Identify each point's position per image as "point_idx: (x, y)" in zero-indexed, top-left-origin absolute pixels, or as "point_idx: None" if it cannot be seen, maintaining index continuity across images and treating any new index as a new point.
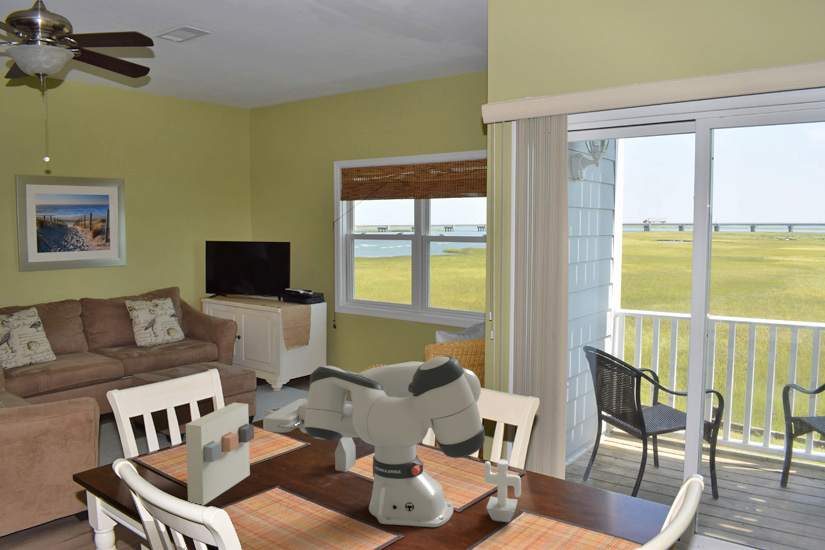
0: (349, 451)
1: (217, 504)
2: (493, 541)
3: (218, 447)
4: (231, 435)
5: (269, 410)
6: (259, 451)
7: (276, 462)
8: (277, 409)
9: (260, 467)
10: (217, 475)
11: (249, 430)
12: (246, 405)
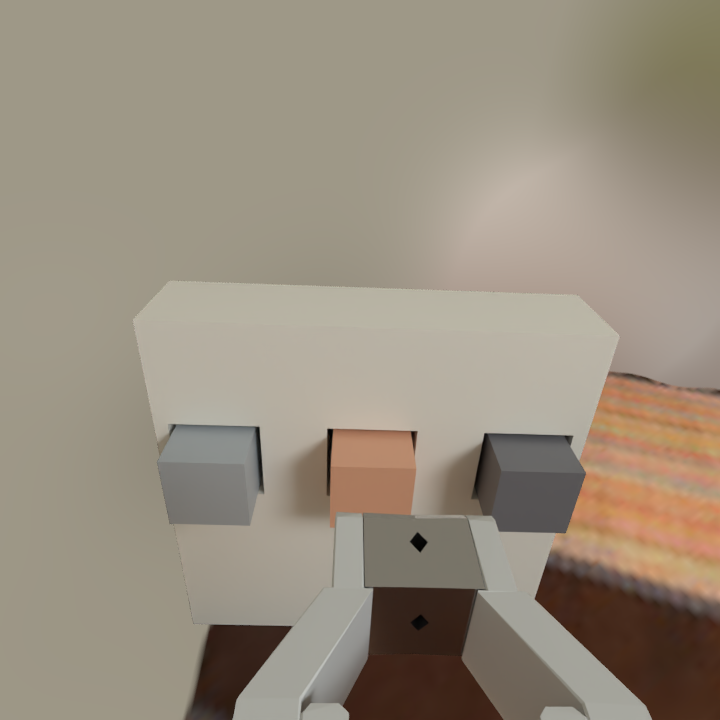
0: None
1: (209, 674)
2: None
3: (220, 478)
4: (375, 455)
5: (349, 567)
6: (713, 537)
7: (713, 669)
8: (511, 648)
9: (613, 629)
10: (288, 566)
11: (532, 485)
12: (599, 339)
